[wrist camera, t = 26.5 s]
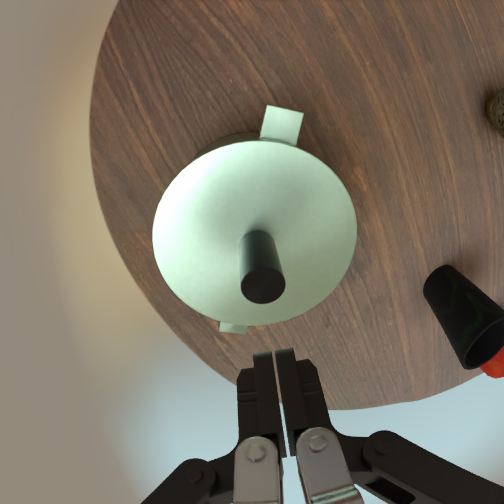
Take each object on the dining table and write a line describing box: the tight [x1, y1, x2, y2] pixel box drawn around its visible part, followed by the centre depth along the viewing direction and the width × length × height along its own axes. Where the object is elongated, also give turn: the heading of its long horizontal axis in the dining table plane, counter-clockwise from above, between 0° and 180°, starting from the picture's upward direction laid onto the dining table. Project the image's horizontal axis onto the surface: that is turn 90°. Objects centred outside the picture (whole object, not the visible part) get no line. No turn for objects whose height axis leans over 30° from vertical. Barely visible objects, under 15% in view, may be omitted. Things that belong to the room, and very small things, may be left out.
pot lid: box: [152, 139, 357, 326], centre depth 19 cm, size 14×14×6 cm
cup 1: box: [423, 265, 504, 370], centre depth 30 cm, size 8×8×12 cm
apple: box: [480, 346, 504, 378], centre depth 36 cm, size 9×8×11 cm
